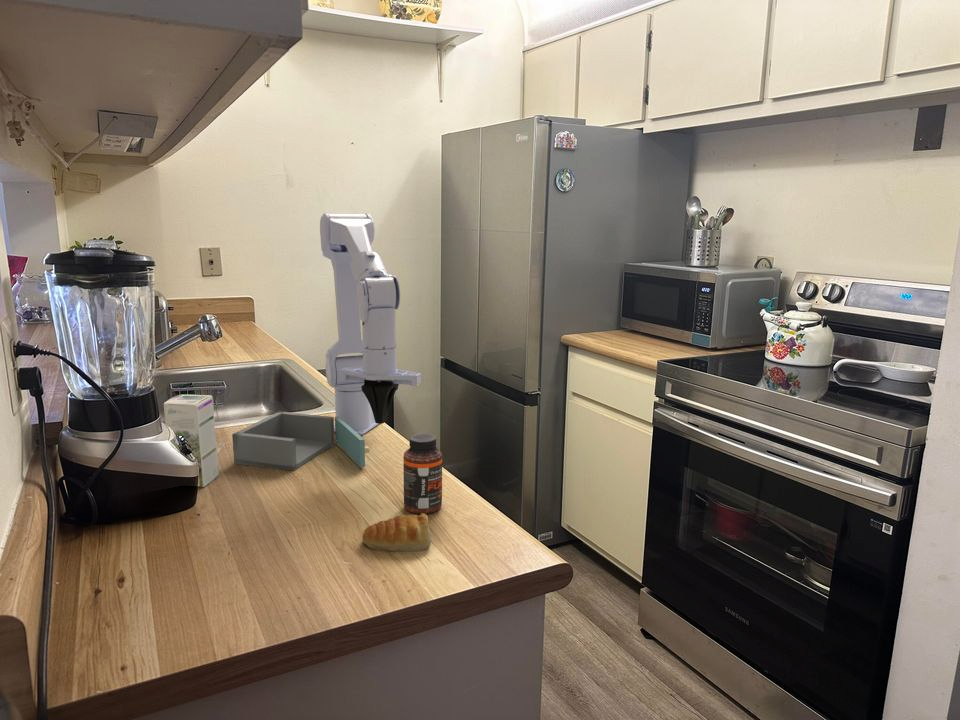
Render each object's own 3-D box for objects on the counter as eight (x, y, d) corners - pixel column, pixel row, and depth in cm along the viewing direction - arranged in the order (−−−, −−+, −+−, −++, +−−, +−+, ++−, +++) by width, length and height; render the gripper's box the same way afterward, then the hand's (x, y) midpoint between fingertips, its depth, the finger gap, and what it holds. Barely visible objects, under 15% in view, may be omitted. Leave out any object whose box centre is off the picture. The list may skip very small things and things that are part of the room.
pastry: (363, 557, 90) (362, 530, 89) (361, 534, 96) (361, 509, 95) (433, 551, 91) (433, 525, 91) (427, 529, 98) (427, 504, 97)
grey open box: (280, 437, 136) (279, 411, 135) (334, 443, 133) (333, 416, 131) (234, 463, 122) (232, 434, 121) (293, 471, 119) (291, 441, 117)
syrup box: (220, 475, 116) (214, 393, 113) (203, 489, 111) (196, 403, 107) (188, 473, 117) (181, 392, 114) (169, 487, 111) (162, 402, 108)
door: (335, 442, 132) (334, 416, 131) (344, 440, 133) (343, 415, 132) (360, 467, 119) (360, 439, 118) (371, 466, 120) (370, 438, 119)
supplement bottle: (433, 518, 101) (433, 446, 98) (397, 512, 103) (395, 441, 100) (448, 502, 106) (448, 433, 104) (413, 497, 108) (412, 429, 106)
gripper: (330, 348, 116) (333, 424, 118) (409, 353, 112) (410, 432, 114) (349, 341, 122) (352, 413, 125) (425, 346, 118) (425, 420, 121)
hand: (381, 422), depth 120 cm, fingers closed
